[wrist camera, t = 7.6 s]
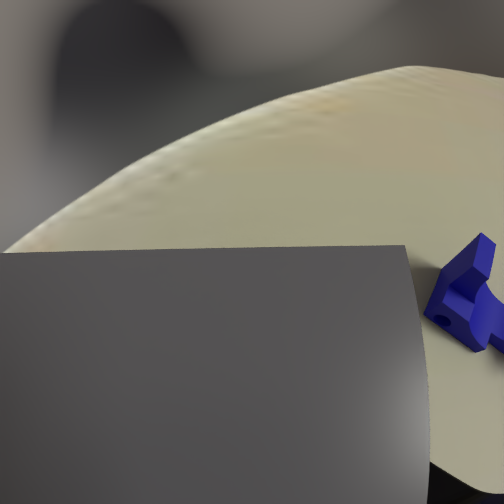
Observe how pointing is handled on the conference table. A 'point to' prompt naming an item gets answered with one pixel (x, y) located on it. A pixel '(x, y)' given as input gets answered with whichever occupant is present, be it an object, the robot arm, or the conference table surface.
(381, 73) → the conference table surface
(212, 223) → the conference table surface
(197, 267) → the plug
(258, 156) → the conference table surface
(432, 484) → the robot arm
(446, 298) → the cable clip
